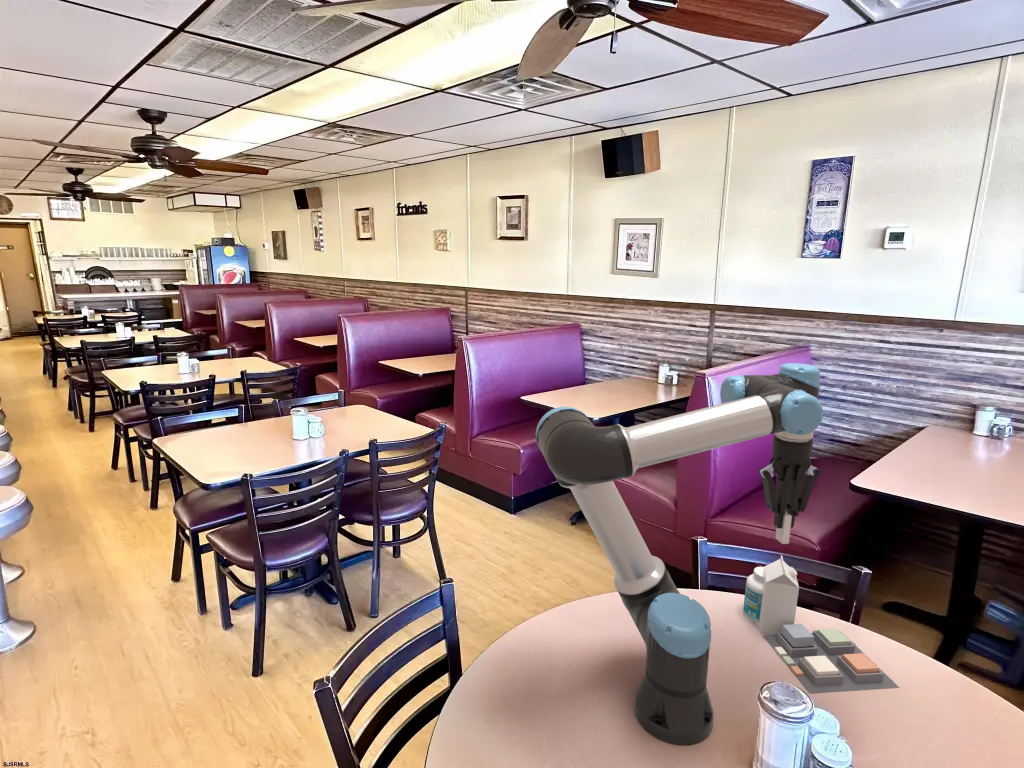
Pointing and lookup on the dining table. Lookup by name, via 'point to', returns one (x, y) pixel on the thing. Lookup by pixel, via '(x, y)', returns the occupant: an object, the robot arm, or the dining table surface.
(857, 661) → the terracotta key
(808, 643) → the slate key
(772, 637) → the keypad
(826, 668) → the cream key
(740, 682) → the dining table surface
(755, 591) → the pill bottle
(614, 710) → the dining table surface
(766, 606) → the milk carton
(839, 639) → the sage key
